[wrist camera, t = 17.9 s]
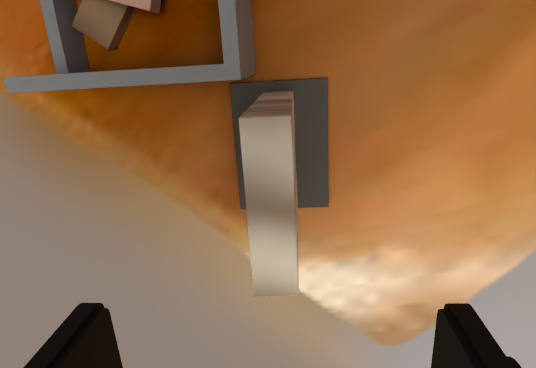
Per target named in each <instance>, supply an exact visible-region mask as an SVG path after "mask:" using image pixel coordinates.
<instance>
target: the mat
mask: <svg viewBox="0 0 536 368" xmlns="http://www.w3.org/2000/svg"><path fill="white" fill-rule="evenodd" d="M282 90H293V98H294V123H295V148H296V173H297V198H298V208H303V207H329V189H328V78H315V79H298V80H280V81H262V82H244V83H230V91H231V102H232V113H233V125H234V136H235V148H236V159H237V170H238V182H239V193H240V204H241V209H246V198H245V186H244V175H243V163H242V152H241V141H240V129H239V117H240V116H241V115H242V114H243V113H244V112H245V111H246V110H247V109H248V108H249V107H250V106H251V105H252V104H253V103H254V102H255V101H256V100H257V98H258V97H259V96H260V95H261V94H262V93H263V92H265V91H282Z"/></svg>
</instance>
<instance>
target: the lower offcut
mask: <svg viewBox="0 0 536 368" xmlns="http://www.w3.org/2000/svg"><path fill="white" fill-rule="evenodd" d="M135 9H136V7H133V6H129V5H125V4H121V3H118V2H114V1H110V0H82V2H81V4H80V6H79V9H78V11H77V14H76V16H75V19H74V21H73V23H72V27H74V28H75V29H77V30H78V31H80V32H81V33H83V34H85V35H86V36H88V37H89V38H91V39H92V40H94V41H95V42H97V43H98V44H100V45H101V46H103V47H105V48H106V49H108V50H117V48H118V45H119V43H120V41H121V39H122V37H123V35H124V33H125V30H126V28H127V26H128V24H129V22H130V20H131V18H132V15H133V13H134V11H135Z"/></svg>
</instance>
